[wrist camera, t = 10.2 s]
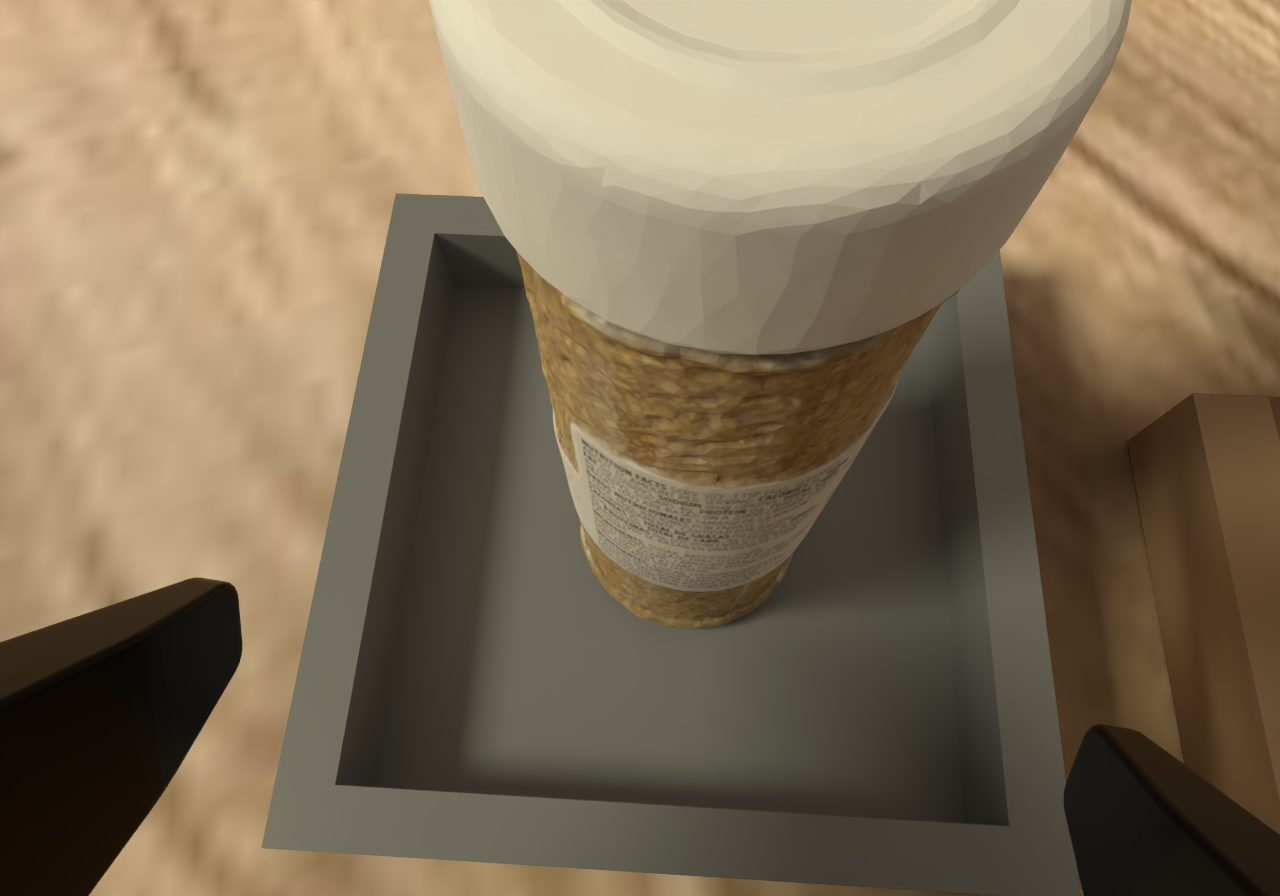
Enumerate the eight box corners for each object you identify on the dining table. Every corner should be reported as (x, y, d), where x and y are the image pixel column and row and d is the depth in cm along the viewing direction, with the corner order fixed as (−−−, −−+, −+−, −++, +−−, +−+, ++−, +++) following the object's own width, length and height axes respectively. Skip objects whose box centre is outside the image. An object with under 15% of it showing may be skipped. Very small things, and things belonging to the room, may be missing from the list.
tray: (1005, 881, 16) (1081, 900, 13) (327, 838, 16) (261, 847, 14) (949, 294, 21) (995, 217, 18) (429, 271, 21) (395, 193, 18)
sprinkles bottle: (625, 400, 19) (575, -382, 6) (823, 466, 18) (1209, -260, 6) (545, 592, 17) (267, 53, 5) (760, 670, 16) (1104, 292, 4)
